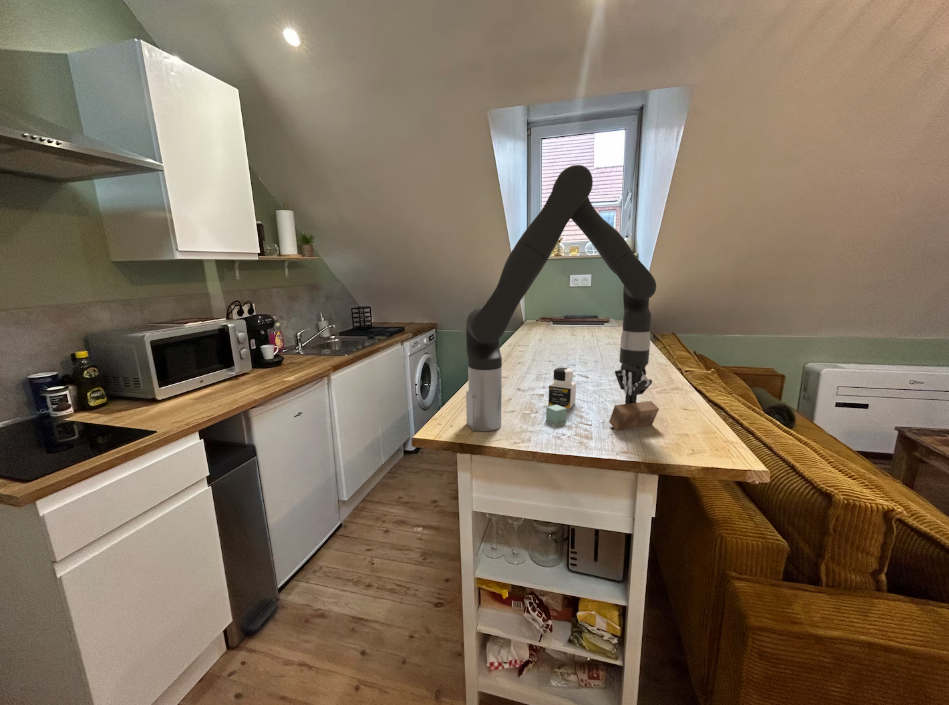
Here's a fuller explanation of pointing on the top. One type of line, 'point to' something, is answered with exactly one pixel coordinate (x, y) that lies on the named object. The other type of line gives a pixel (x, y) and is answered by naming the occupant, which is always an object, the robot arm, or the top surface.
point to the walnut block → (633, 415)
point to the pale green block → (556, 414)
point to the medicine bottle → (562, 388)
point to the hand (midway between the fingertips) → (630, 406)
